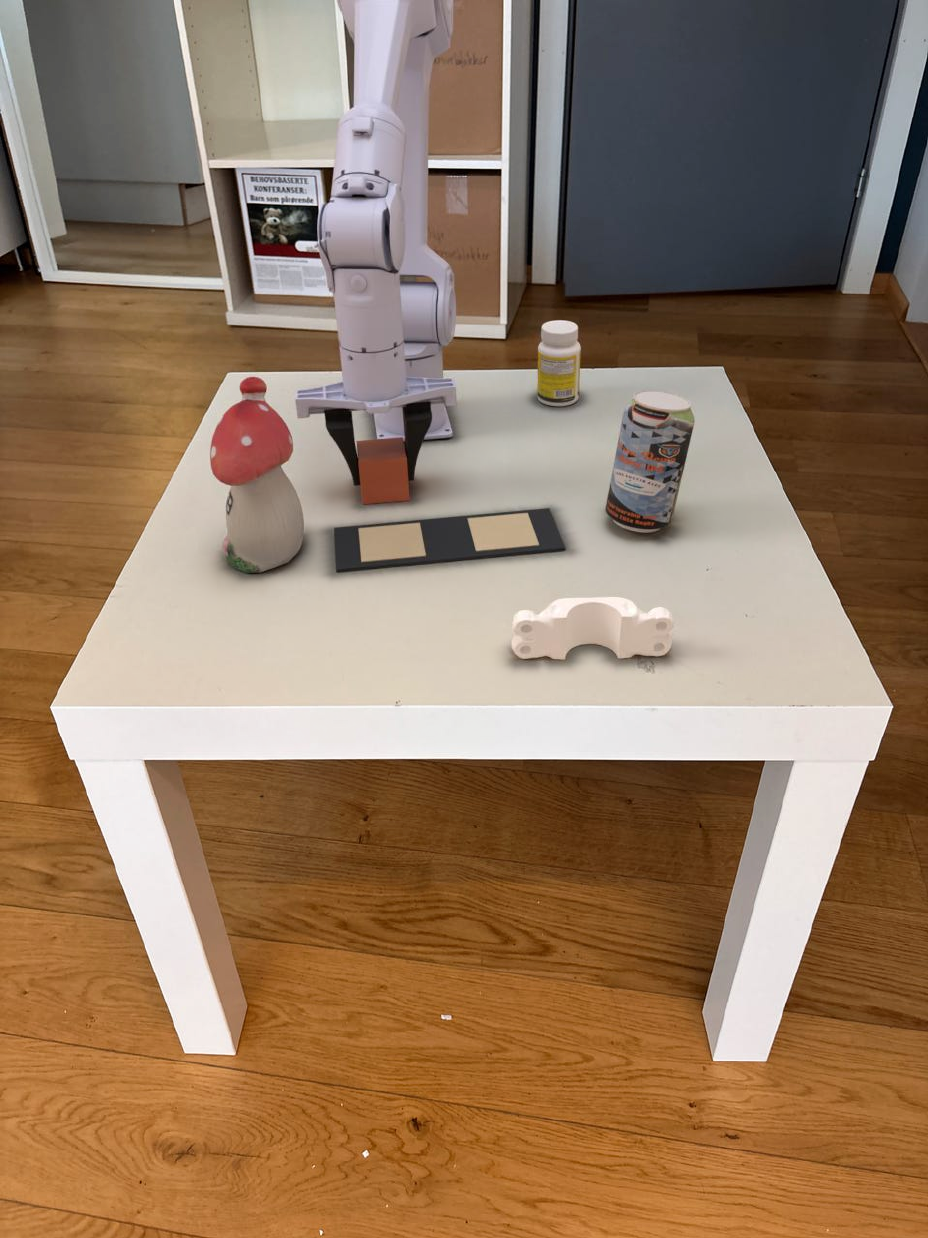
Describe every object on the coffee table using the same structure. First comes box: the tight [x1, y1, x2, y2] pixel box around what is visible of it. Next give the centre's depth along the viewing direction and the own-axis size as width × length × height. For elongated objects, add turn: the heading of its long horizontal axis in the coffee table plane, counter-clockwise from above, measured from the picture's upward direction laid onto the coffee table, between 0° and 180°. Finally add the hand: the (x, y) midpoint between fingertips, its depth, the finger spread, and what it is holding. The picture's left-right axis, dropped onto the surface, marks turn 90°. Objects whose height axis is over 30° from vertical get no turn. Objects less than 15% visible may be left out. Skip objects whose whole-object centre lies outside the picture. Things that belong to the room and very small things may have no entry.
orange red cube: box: [355, 437, 411, 505], centre depth 94 cm, size 4×4×4 cm
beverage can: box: [605, 389, 696, 533], centre depth 86 cm, size 6×7×12 cm
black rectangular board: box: [333, 507, 566, 573], centre depth 87 cm, size 7×20×1 cm, turn 98°
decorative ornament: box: [209, 376, 305, 574], centre depth 82 cm, size 9×7×15 cm
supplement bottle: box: [537, 319, 582, 407], centre depth 109 cm, size 5×5×8 cm
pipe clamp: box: [510, 596, 675, 661], centre depth 73 cm, size 12×2×4 cm, turn 90°
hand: (383, 478), depth 94 cm, fingers closed on orange red cube, 4 cm apart
